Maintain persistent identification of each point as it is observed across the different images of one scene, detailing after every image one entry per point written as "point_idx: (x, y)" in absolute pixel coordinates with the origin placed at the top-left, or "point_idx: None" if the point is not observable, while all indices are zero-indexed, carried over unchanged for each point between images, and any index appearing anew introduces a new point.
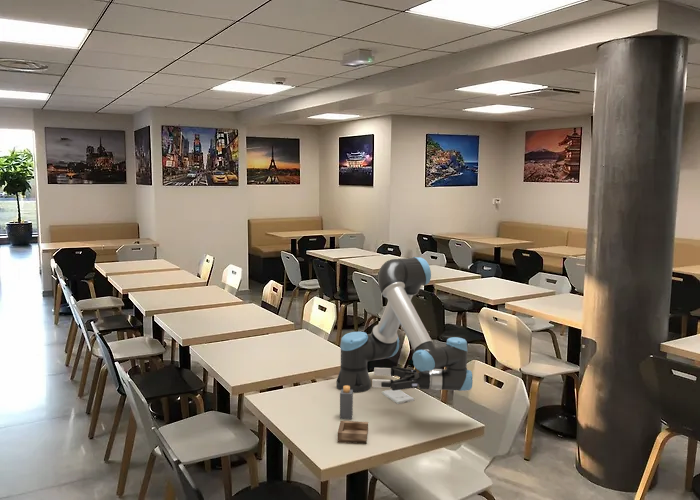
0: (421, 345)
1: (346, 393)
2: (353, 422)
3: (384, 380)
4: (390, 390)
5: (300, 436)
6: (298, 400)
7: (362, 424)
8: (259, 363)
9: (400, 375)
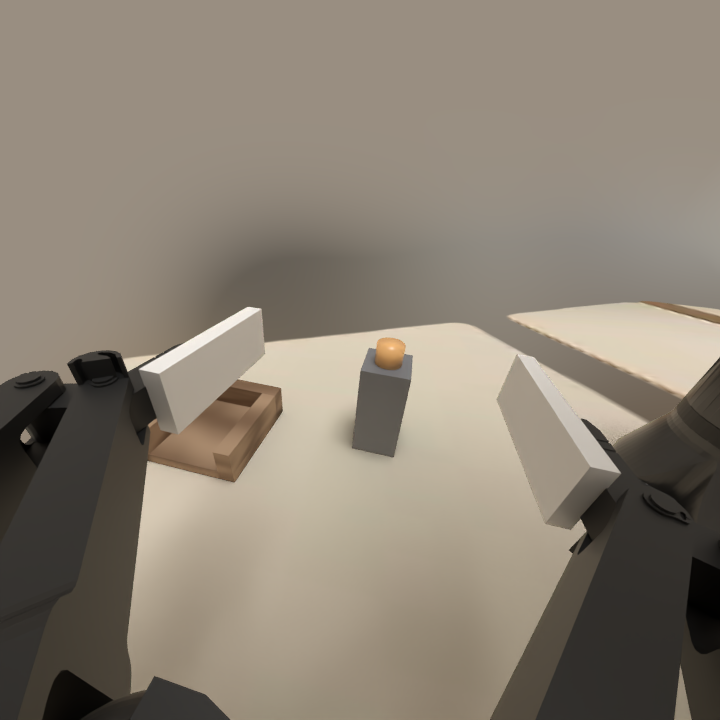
0: None
1: (369, 360)
2: (250, 413)
3: (186, 342)
4: None
5: (279, 351)
6: (471, 365)
7: (227, 438)
8: (642, 341)
9: (526, 666)
